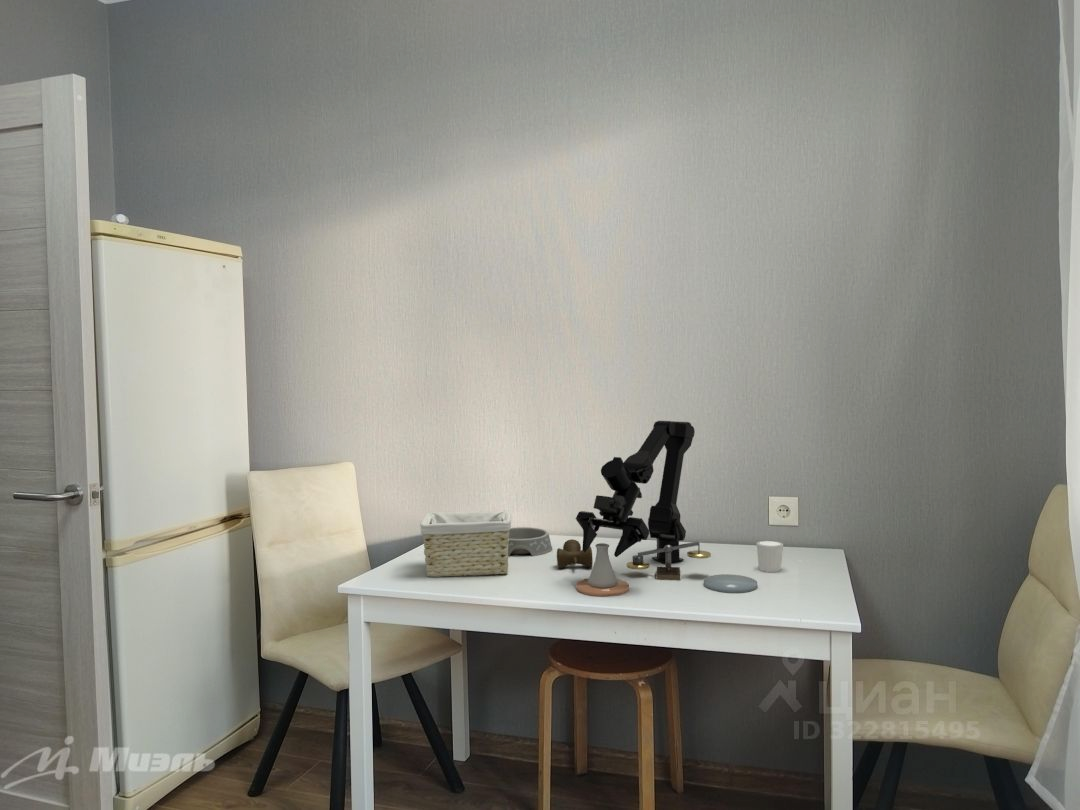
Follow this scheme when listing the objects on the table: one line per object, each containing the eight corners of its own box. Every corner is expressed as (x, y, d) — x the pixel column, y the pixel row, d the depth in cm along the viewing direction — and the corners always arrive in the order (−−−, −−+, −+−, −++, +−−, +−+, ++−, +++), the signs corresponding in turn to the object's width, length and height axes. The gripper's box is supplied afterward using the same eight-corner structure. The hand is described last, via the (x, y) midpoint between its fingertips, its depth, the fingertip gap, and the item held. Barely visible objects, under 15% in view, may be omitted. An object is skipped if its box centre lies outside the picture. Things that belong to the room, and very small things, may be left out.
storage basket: (420, 579, 215) (418, 523, 214) (426, 563, 231) (425, 511, 230) (512, 577, 216) (511, 521, 215) (511, 561, 232) (511, 509, 231)
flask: (623, 584, 203) (623, 544, 202) (602, 590, 198) (602, 549, 198) (602, 579, 208) (602, 539, 208) (581, 584, 204) (581, 544, 203)
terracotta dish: (567, 585, 206) (567, 581, 206) (611, 578, 212) (611, 575, 212) (593, 599, 195) (593, 595, 195) (639, 591, 201) (639, 587, 200)
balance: (625, 578, 212) (625, 543, 212) (627, 570, 220) (626, 536, 220) (711, 580, 209) (711, 545, 208) (710, 572, 217) (709, 538, 216)
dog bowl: (552, 557, 237) (552, 538, 236) (488, 558, 237) (488, 539, 237) (552, 543, 254) (552, 526, 254) (492, 544, 254) (492, 527, 254)
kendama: (589, 557, 238) (594, 573, 218) (555, 558, 238) (558, 575, 218) (588, 536, 238) (593, 550, 218) (554, 538, 238) (557, 552, 218)
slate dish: (693, 582, 208) (693, 578, 208) (733, 575, 213) (733, 571, 213) (726, 595, 196) (726, 591, 196) (768, 588, 202) (768, 584, 202)
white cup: (784, 573, 215) (784, 546, 215) (757, 572, 217) (757, 545, 216) (782, 566, 222) (782, 540, 222) (755, 565, 223) (755, 539, 223)
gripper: (579, 479, 211) (554, 530, 202) (643, 485, 199) (619, 539, 191) (596, 505, 217) (573, 555, 209) (659, 512, 206) (637, 565, 198)
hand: (599, 553), depth 202 cm, fingers open, 9 cm apart
